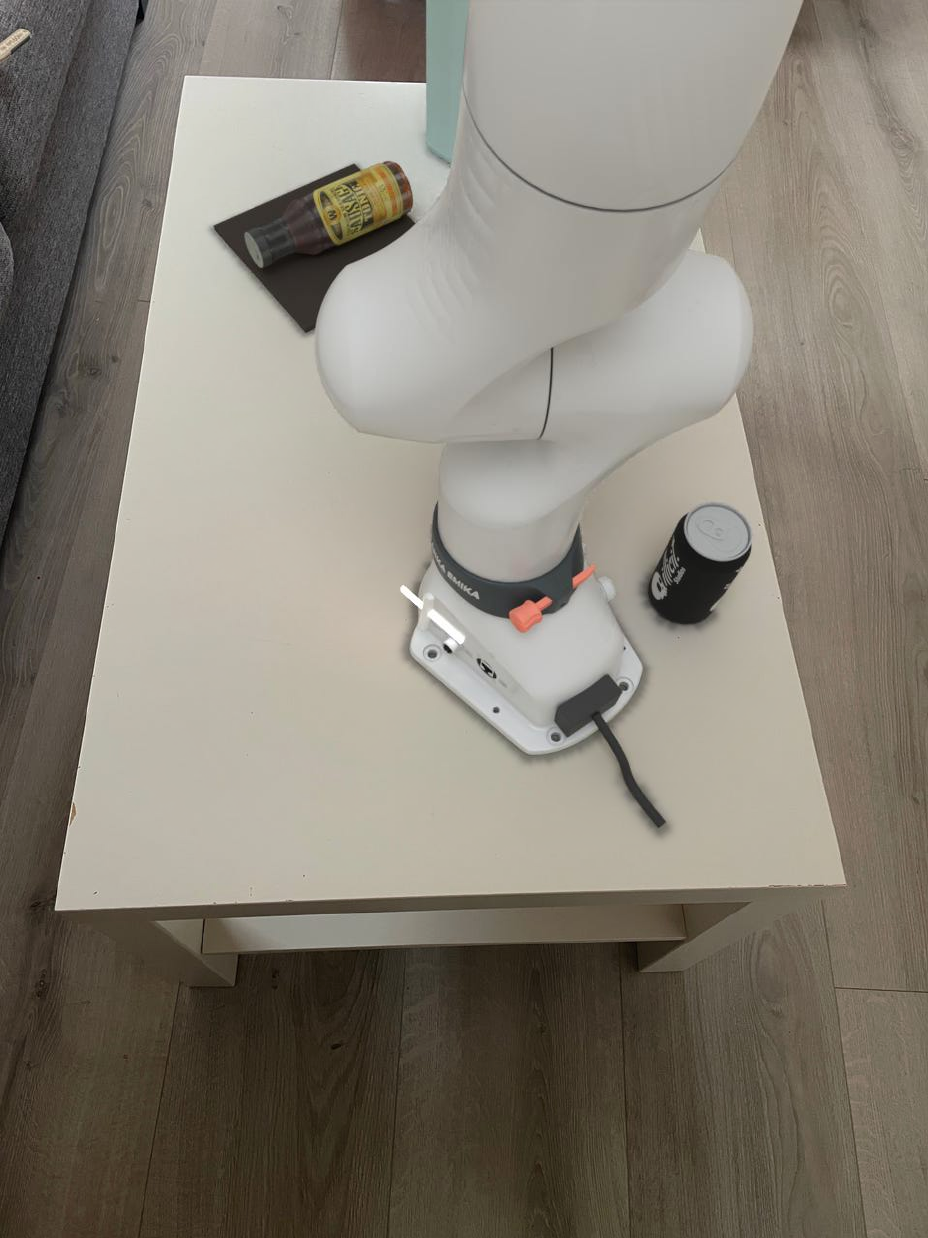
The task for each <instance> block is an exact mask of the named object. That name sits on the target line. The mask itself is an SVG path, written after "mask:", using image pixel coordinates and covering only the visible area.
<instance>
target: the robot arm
mask: <svg viewBox="0 0 928 1238" xmlns="http://www.w3.org/2000/svg"><path fill="white" fill-rule="evenodd" d="M803 3H804V0H470V4H469V10H468V17H467V25H466V35H465V44H464V54H463V66H462V79H461V92H460V104H459V114H458V122H457V130H456V138H455V144H454V151H453V157H452V162H451V164H450V167H449V173H448V177H447V181H446V184H445V186H444V188H443V190H442V192H441V193H440V195H439V196H438V198H437V199H436V200H435V202H433V204H432V206H431V207H430V208H429V209H427V211H426V212H425V213H424V214H423V215H422V217H421V218H420V219H418V221H417V222H415V223H416V224H415V225H414V226H413V227H412V228H411V229H410V230H408V231H407V232H406V233H405V234H403V235H402V236H401V237H400V238H398V239H397V240H395V241H394V242H393V243H391V244H390V245H388V246H386V247H385V248H383V249H381V250H379V251H378V252H376V253H374V254H372V255H369V256H367V257H365V258H363V259H361V260H358V261H356V262H354V263H351V264H349V265H347V266H345V268H344V269H343V270H342V271H341V272H340V273H339V274H338V276H337V277H336V278H335V280H334V281H333V282H332V284H331V286H330V287H329V289H328V291H327V293H326V295H325V297H324V299H323V302H322V304H321V307H320V310H319V314H318V317H317V322H316V328H314V340H313V341H314V344H313V345H314V348H313V349H314V357H315V364H316V370H317V373H318V377H319V379H320V382H321V385H322V387H323V390H324V392H325V394H326V396H327V398H328V399H329V401H330V403H331V404H332V406H333V408H334V409H335V410H336V411H337V413H338V414H339V416H340V417H341V418H342V419H343V421H345V422H346V423H347V425H349V426H350V427H351V428H352V429H353V430H355V431H356V432H357V433H358V434H364V435H371V436H378V437H384V438H388V439H395V440H401V441H407V442H408V441H409V442H416V443H423V444H431V445H432V444H433V445H434V444H435V445H438V444H439V445H440V444H445V446H444V448H443V450H442V453H441V456H440V458H439V465H438V488H437V489H438V490H437V501H436V503H435V506H434V510H433V513H432V522H431V524H430V529H429V530H430V532H429V533H430V535H429V538H430V548H431V553H432V559H431V563H430V565H429V567H428V568H427V570H426V571H425V573H424V575H423V577H422V579H421V582H420V585H419V589H418V594H417V596H416V595H415V594H414V593H413V592H412V591H410V590H409V589H408V587H406V586H404V585H402V586H401V587H400V592H401V593H402V594H403V595H405V597H406V598H407V599H409V600H410V601H411V602H412V603H414V604H415V606H417V624H416V626H415V628H414V630H413V633H412V636H411V639H410V643H409V648H408V649H409V654H410V656H411V657H412V658H413V659H414V660H415V662H417V663H418V664H419V665H421V667H422V668H424V669H425V670H426V671H427V672H429V674H431V675H432V676H433V677H434V678H435V679H437V680H438V681H439V682H440V683H441V684H443V685H444V686H445V687H446V688H447V689H449V690H450V691H451V692H452V693H453V694H454V695H456V696H457V697H458V698H459V699H460V700H461V701H463V702H464V703H465V704H466V705H467V706H468V707H470V708H471V709H472V710H473V711H474V712H475V713H476V714H478V715H479V716H480V717H481V718H483V719H484V720H485V721H486V722H487V723H488V724H490V726H492V727H493V728H494V729H495V730H497V731H498V732H499V733H500V734H501V735H503V737H505V738H506V739H507V740H508V741H510V743H512V744H513V745H514V746H516V747H517V748H518V749H519V750H521V751H522V752H523V753H525V754H527V755H529V756H542V755H548V754H553V753H557V752H560V751H563V750H565V749H569V748H570V747H572V746H574V745H577V744H579V743H580V742H582V741H583V740H586V739H587V738H588V737H590V736H592V735H593V734H594V733H596V732H597V731H599V732H600V734H601V735H602V737H603V738H604V740H605V741H606V744H608V747H609V748H610V750H611V751H612V753H613V755H614V756H615V757H614V758H615V759H616V761H617V763H618V765H619V768H620V771H621V775H622V777H623V780H624V782H625V785H626V787H627V788H628V790H629V791H630V793H631V795H632V796H633V797H634V799H635V800H636V802H637V803H638V804H639V806H640V807H641V808H642V809H643V810H644V811H645V813H646V814H647V816H648V817H649V818H650V819H651V820H652V822H653V823H654V825H656V826H657V828H661V827H662V826H663V825H665V824H666V823H667V821H666V820H665V819H664V817H663V816H662V815H661V814H660V812H659V811H658V810H657V809H656V808H655V806H654V805H653V804H652V803H651V802H650V800H649V799H648V797H646V795H645V794H644V792H643V791H642V789H641V787H640V786H639V784H638V783H637V781H636V779H635V777H634V775H633V773H632V769H631V765H630V763H629V759H628V758H627V757H628V756H627V755H626V753H625V752H624V750H623V747H622V746H621V744H620V743H619V741H618V739H617V738H616V736H615V735H614V733H613V731H612V730H611V728H610V727H609V725H608V724H607V723H609V722H610V721H611V720H613V719H614V718H615V717H616V716H617V715H618V714H619V713H620V712H621V711H622V710H623V709H624V707H626V705H627V704H628V703H629V702H630V701H631V699H632V697H633V695H634V694H635V692H636V691H637V689H638V686H639V684H640V681H641V677H642V675H643V670H644V667H643V663H642V662H641V659H640V658H639V656H638V654H637V653H636V651H635V649H634V648H633V647H632V645H631V643H630V641H629V640H628V638H627V636H626V635H625V633H624V632H623V630H622V628H621V626H620V624H619V622H618V620H617V618H616V616H615V613H614V612H613V610H612V607H610V604H609V603H610V602H612V601H614V600H615V599H616V598H617V590H616V586H615V585H614V583H613V581H612V580H611V579H610V578H609V577H608V576H605V575H604V576H600V577H599V578H596V577H595V575H594V572H595V569H596V567H597V564H596V563H594V564H591V565H590V566H589V563H588V561H587V559H586V558H585V554H587V547H586V544H585V543H584V541H583V539H582V527H581V525H580V522H581V518H582V516H583V513H584V512H585V508H586V506H587V505H588V502H589V499H590V498H591V496H592V495H593V493H595V491H596V490H597V489H598V488H599V487H600V486H601V485H602V484H603V483H604V482H605V481H607V480H608V478H610V477H611V476H612V475H613V474H614V473H616V472H617V471H618V470H620V469H621V468H622V467H623V466H624V465H625V464H627V463H628V462H630V461H631V460H632V459H634V458H635V457H636V456H638V455H639V454H641V453H642V452H643V451H645V450H647V449H648V448H650V447H651V446H653V445H655V444H656V443H658V442H659V441H662V440H663V439H665V438H667V437H669V436H671V435H673V434H675V433H677V432H679V431H682V430H685V429H686V428H688V427H691V426H693V425H696V424H698V423H701V422H704V421H706V420H709V419H711V418H713V417H716V415H718V414H719V413H720V412H721V411H722V410H723V409H724V408H725V406H727V404H728V403H730V401H731V399H733V397H734V396H735V394H736V392H737V391H738V389H739V387H740V386H741V384H742V382H743V380H744V378H745V375H746V373H747V370H748V368H749V364H750V363H751V362H750V361H751V358H752V353H753V348H754V339H755V320H754V313H753V308H752V304H751V301H750V296H749V294H748V292H747V290H746V288H745V285H744V283H743V281H742V279H741V277H740V276H739V275H738V273H737V271H736V270H735V269H734V267H733V266H732V265H731V264H730V263H729V261H727V259H725V258H724V257H722V256H720V255H716V254H712V253H708V252H702V251H698V250H693V249H690V248H691V245H692V244H693V241H694V240H695V238H696V236H697V235H698V232H699V230H700V229H701V226H702V225H703V223H704V220H705V219H706V217H707V215H708V213H709V211H710V209H711V207H712V205H713V203H714V201H715V199H717V198H716V197H717V195H718V194H719V192H720V190H721V188H722V186H723V185H724V182H725V180H726V178H727V177H728V175H729V172H730V170H731V169H732V167H733V165H734V163H735V162H736V159H737V157H738V155H739V153H740V152H741V150H742V149H743V148H742V147H743V145H744V144H745V142H746V140H747V138H748V135H749V133H750V132H751V130H752V127H753V125H754V123H755V121H756V119H757V117H758V115H759V113H760V111H761V109H762V107H763V104H764V103H765V99H766V97H767V95H768V92H769V90H770V88H771V86H772V84H773V81H774V78H775V76H776V74H777V72H778V70H779V66H780V64H781V62H782V59H783V57H784V55H785V52H786V49H787V47H788V44H789V41H790V39H791V36H792V33H793V30H794V28H795V25H796V23H797V19H798V18H799V14H800V12H801V9H802V6H803ZM430 654H435V655H436V656H435V657H429V655H430ZM620 686H625V688H626V690H622V689H621V687H620ZM494 711H497V712H494ZM553 736H557V737H558V739H559V740H558V741H555V740H553V739H552V737H553Z"/></svg>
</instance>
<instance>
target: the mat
mask: <svg viewBox="0 0 928 1238" xmlns="http://www.w3.org/2000/svg"><path fill="white" fill-rule="evenodd" d="M361 170H362V169H361V168H360V167H358V165H356V164H355V163H352V164H349V165H346V166H345V167H343V168H340V169H337V170H336V171H333V172H331V173H329V174H326V175H325V176H322V177H320V178H318V179H315V180H313V181H311V182H309V183H306V184H304V185H302V186H300V187H298V188H295V189H292V190H290V191H288V192H286V193H284V194H281V195H279V196H277V197H274V198H273V199H271V200H268V201H266V202H263V203H261V204H259V205H256V206H255V207H252V208H251V209H247V210H246V211H243V212H240V213H239V214H236V215H234V216H231V217H229V218H227V219H225V220H222V221H220V222H218V223H216V224H213V229H214V231H215V232H216V233H217V234H218V235H219V237H221V239H222V240H223V241H224V242H225V244H226V245H228V247H229V248H230V249H231V250H232V251H233V252H234V253H235V255H236V256H237V257H238V258H239V259H240V260H241V261H242V263H243V264H244V265H245V266H246V267H247V268H248V269H249V270H250V272H251V273H252V274H253V275H254V276H255V277H256V278H257V279H258V281H259V282H260V283H261V284H262V285H263V286H264V287H265V289H267V291H268V292H269V293H270V294H271V295H272V297H273V298H274V299H275V300H276V301H277V302H278V303H279V304H280V305H281V307H282V308H283V309H284V310H285V311H286V312H287V313H288V314H289V316H290V317H291V318H292V319H293V320H294V322H296V324H297V325H298V326H299V327H300V328H301V329H302V330H303V331H304V333H308V332H310V331H312V330H315V328H316V322H317V317H318V314H319V310H320V307H321V304H322V302H323V299H324V297H325V295H326V293H327V291H328V289H329V287H330V286H331V284H332V282H333V281H334V280H335V278H336V277H337V276H338V274H339V273H340V272H341V271H342V270H343V269H344V268H345V266H347V265H349V264H351V263H354V262H356V261H358V260H361V259H363V258H365V257H367V256H369V255H372V254H374V253H376V252H378V251H379V250H381V249H383V248H385V247H386V246H388V245H390V244H391V243H393V242H394V241H395V240H397V239H398V238H400V237H401V236H402V235H403V234H405V233H406V232H407V231H408V230H410V229H411V228H412V227H413V226H414V225H415V224H416V223H417V222H415V221H414V220H413V219H412V218H411V217H410V216H409V215H408V214H405V215H403V216H401V217H400V218H399V219H397V220H395V221H392V222H390V223H388V224H386V225H383V226H381V227H379V228H377V229H375V230H372V231H370V232H368V233H366V234H363V235H361V236H359V237H357V238H354V239H352V240H350V241H348V242H346V243H343V244H341V245H339V246H335V247H332V248H330V249H327V250H324V251H322V252H320V253H319V254H316V255H311V254H303V253H293V254H291V255H286V256H284V257H282V258H280V259H278V260H276V261H274V262H273V264H271V265H269V266H267V267H264V268H260V267H259V266H258V265H257V264H256V263H255V262H254V260H253V258H252V257H251V255H250V253H249V250H248V248H247V245H246V242H245V237H244V235H245V232H247V231H249V230H251V229H253V228H260V227H262V226H265V225H267V224H269V223H272V222H274V221H275V220H276V219H279V218H281V217H282V215H283V214H284V212H285V211H286V209H287V207H288V206H289V204H290V203H291V202H292V201H293V200H296V199H298V198H300V197H303V196H305V195H307V194H310V193H312V192H313V191H315V190H317V189H319V188H321V187H323V186H326V185H328V184H330V183H333V182H335V181H337V180H340V179H342V178H345V177H347V176H349V175H352V174H354V173H357V172H359V171H361Z"/></svg>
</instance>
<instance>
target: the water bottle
mask: <svg viewBox="0 0 928 1238" xmlns="http://www.w3.org/2000/svg"><path fill="white" fill-rule="evenodd" d="M469 4H470V0H425V11H426V12H425V40H426V41H425V58H426V59H425V128H426V129H425V131H426V132H425V134H426V135H425V137H426V146H427V147H428V148H429V150H430V151H431V152H432V153H433V154H434V155H436V156H438V157H439V158H441V159H443V160H444V161H445V162H447V163H449V164H450V165H451V162H452V157H453V151H454V144H455V138H456V130H457V122H458V114H459V104H460V92H461V79H462V66H463V54H464V44H465V35H466V25H467V17H468V10H469Z"/></svg>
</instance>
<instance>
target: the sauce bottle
mask: <svg viewBox="0 0 928 1238" xmlns="http://www.w3.org/2000/svg"><path fill="white" fill-rule="evenodd" d="M360 170H361V171H359V172H357V173H354V174H352V175H349V176H347V177H345V178H342V179H340V180H337V181H335V182H333V183H330V184H328V185H326V186H323V187H321V188H319V189H317V190H315V191H313V192H312V193H310V194H307V195H305V196H303V197H300V198H298V199H296V200H293V201H292V202H291V203H290V204H289V206H288V207H287V209H286V211H285V212H284V214H283V215H282V217H281V218H279V219H276V220H275V221H274V222H272V223H269V224H267V225H265V226H262V227H260V228H253V229H251V230H249V231H247V232H245V235H244V237H245V242H246V245H247V248H248V250H249V253H250V255H251V257H252V258H253V260H254V262H255V263H256V264H257V265H258V266H259V267H260V268H264V267H267V266H269V265H271V264H273V262H274V261H276V260H278V259H280V258H282V257H284V256H286V255H291V254H293V253H303V254H311V255H316V254H319V253H320V252H322V251H324V250H327V249H330V248H332V247H335V246H339V245H341V244H343V243H346V242H348V241H350V240H352V239H354V238H357V237H359V236H361V235H363V234H366V233H368V232H370V231H372V230H375V229H377V228H379V227H381V226H383V225H386V224H388V223H390V222H392V221H395V220H397V219H399V218H400V217H401V216H403V215H405V214H407V215H408V214H409V213H410V212H412V209H413V207H414V195H413V190H412V186H411V183H410V181H409V179H408V177H407V175H406V173H405V171H404V170H403V169H402V167H401V165H400V164H399V163H397V162H396V161H395V162H394V161H392V160H385V161H383V162H377V163H375V164H374V165H371V166H369V167H366V168H364V169H360Z"/></svg>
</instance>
